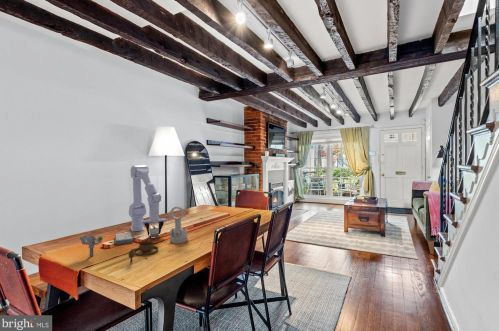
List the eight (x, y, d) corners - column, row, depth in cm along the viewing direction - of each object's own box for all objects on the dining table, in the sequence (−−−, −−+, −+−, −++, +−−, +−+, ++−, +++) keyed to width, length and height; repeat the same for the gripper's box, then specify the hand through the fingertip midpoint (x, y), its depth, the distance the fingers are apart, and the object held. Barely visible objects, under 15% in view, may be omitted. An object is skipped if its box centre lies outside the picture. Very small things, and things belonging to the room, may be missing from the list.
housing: (149, 235, 161) (149, 225, 161) (156, 234, 163) (156, 224, 163) (150, 239, 154) (151, 228, 154) (158, 238, 156) (158, 227, 156)
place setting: (166, 253, 134) (166, 242, 134) (130, 266, 117) (131, 253, 117) (146, 246, 143) (146, 235, 143) (110, 257, 127) (111, 245, 127)
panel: (115, 237, 155) (115, 233, 155) (131, 235, 159) (131, 231, 159) (115, 244, 142) (115, 240, 142) (132, 242, 147) (132, 238, 147)
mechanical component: (99, 257, 124) (99, 237, 124) (79, 257, 125) (79, 237, 124) (103, 255, 127) (103, 235, 127) (83, 254, 128) (83, 235, 127)
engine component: (183, 243, 147) (189, 238, 157) (184, 208, 147) (189, 205, 157) (165, 242, 148) (172, 237, 158) (166, 207, 148) (172, 204, 158)
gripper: (142, 215, 151) (142, 237, 152) (167, 213, 158) (167, 234, 159) (141, 212, 158) (141, 234, 158) (165, 210, 164) (165, 231, 165)
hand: (153, 234), depth 159 cm, fingers open, 6 cm apart
